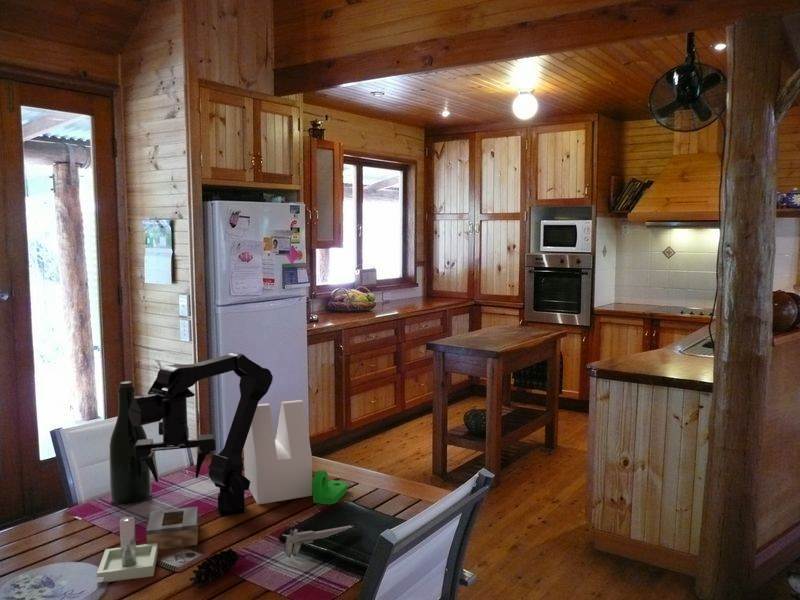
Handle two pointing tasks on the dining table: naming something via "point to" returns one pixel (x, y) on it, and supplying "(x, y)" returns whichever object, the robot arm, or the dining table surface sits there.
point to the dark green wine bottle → (127, 455)
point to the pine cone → (215, 566)
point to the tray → (115, 570)
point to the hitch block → (173, 528)
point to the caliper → (308, 538)
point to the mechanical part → (327, 489)
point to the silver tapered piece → (128, 541)
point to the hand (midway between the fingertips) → (177, 479)
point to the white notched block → (279, 454)
